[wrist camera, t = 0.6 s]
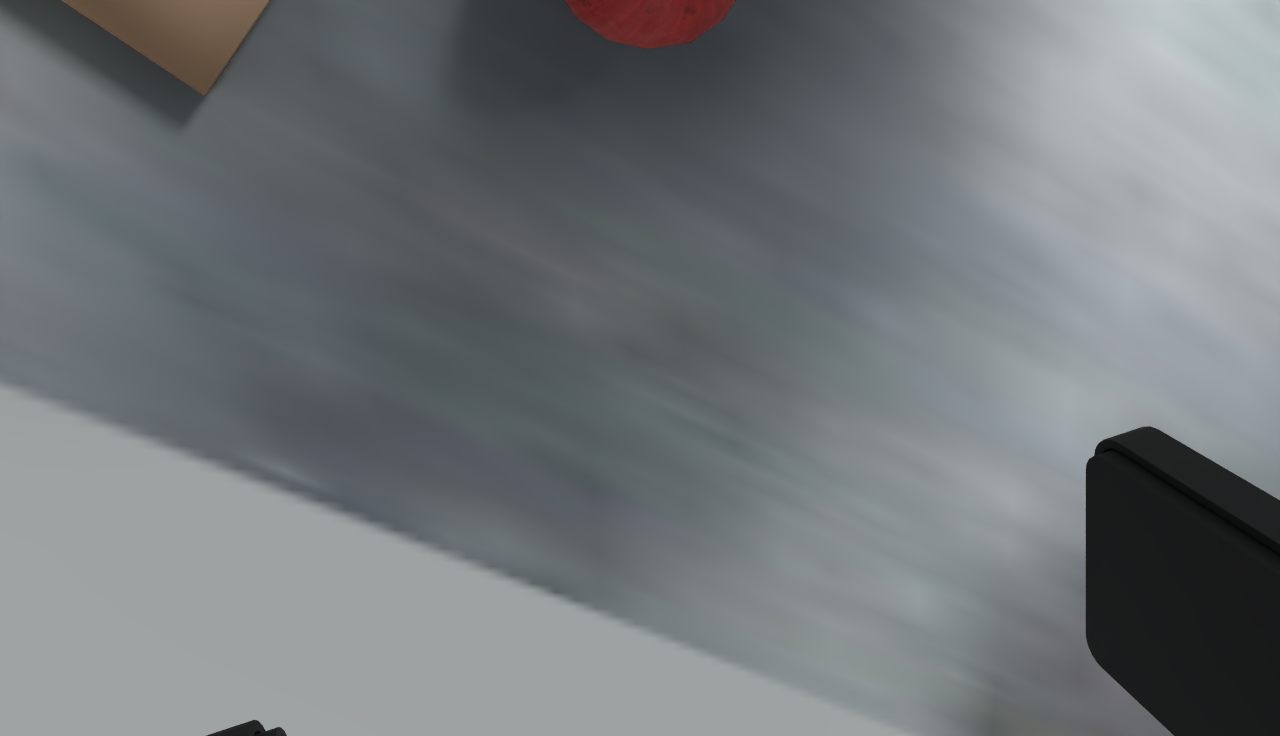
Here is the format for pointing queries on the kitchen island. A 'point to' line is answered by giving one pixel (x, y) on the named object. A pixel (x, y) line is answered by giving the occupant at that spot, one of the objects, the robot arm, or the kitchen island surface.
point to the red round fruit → (650, 19)
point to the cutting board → (179, 32)
